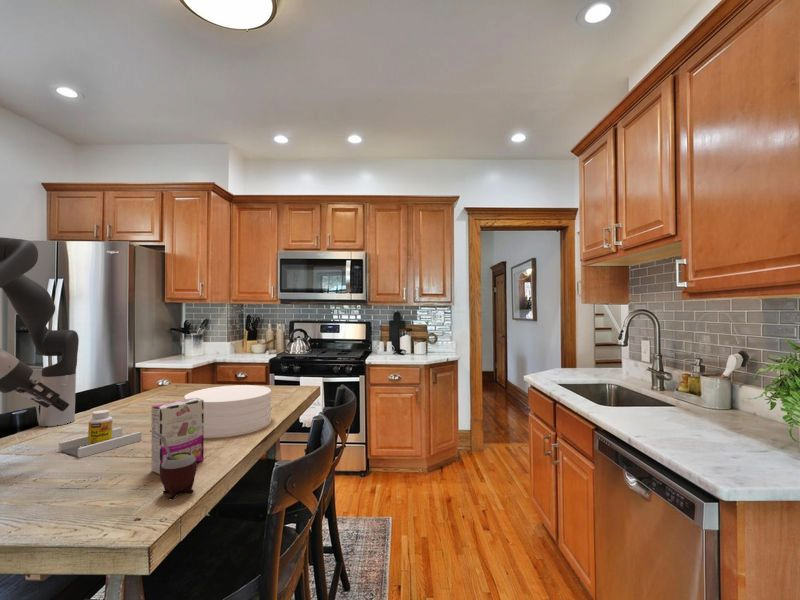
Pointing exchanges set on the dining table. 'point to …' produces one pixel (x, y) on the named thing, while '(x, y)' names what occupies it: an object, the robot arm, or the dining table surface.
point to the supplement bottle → (100, 427)
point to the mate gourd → (177, 471)
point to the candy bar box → (178, 430)
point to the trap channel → (97, 444)
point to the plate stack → (234, 409)
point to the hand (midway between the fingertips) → (57, 406)
